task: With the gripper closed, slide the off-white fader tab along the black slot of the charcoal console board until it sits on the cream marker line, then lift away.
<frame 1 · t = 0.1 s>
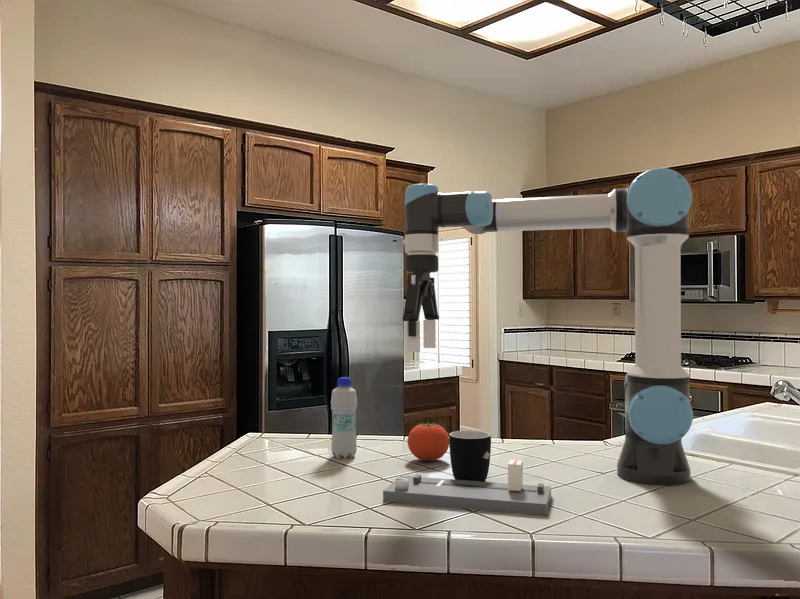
hand: (421, 350, 148), 28 cm above the counter, fingers open, 13 cm apart
mug: (471, 480, 144), on the counter
bottle: (344, 457, 166), on the counter
fader tab: (515, 474, 129), point 5 cm above the counter, slide at 0.0 cm
tomato: (428, 461, 162), on the counter
console: (467, 499, 130), on the counter
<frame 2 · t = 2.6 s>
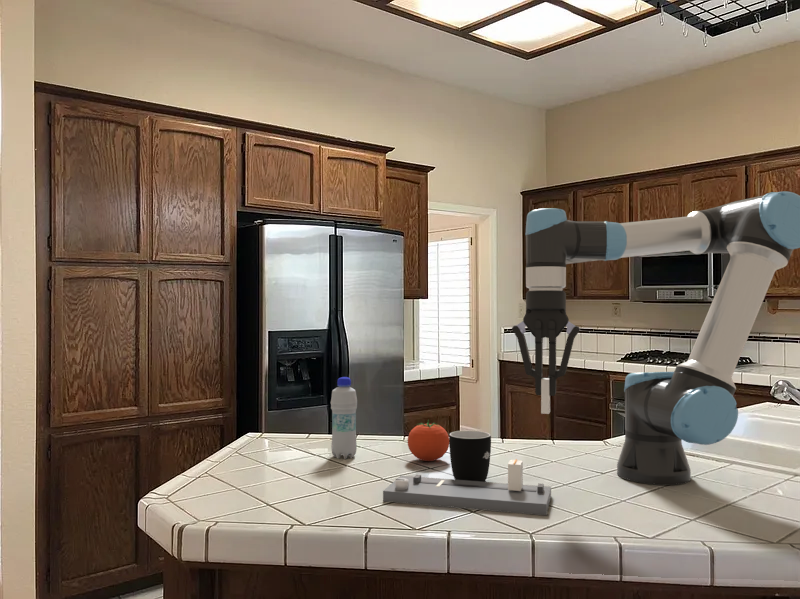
hand: (545, 412, 128), 17 cm above the counter, fingers closed
nothing on the counter moved.
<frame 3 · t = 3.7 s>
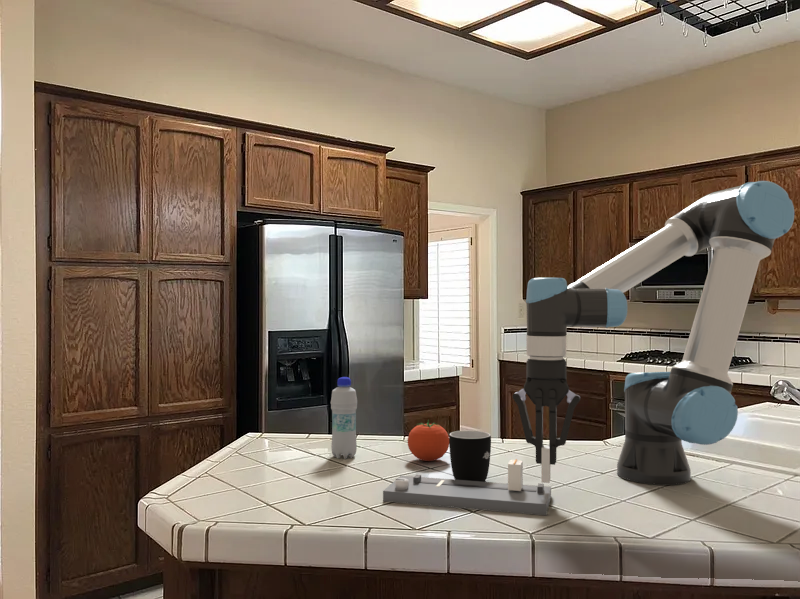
hand: (546, 480, 127), 4 cm above the counter, fingers closed
nothing on the counter moved.
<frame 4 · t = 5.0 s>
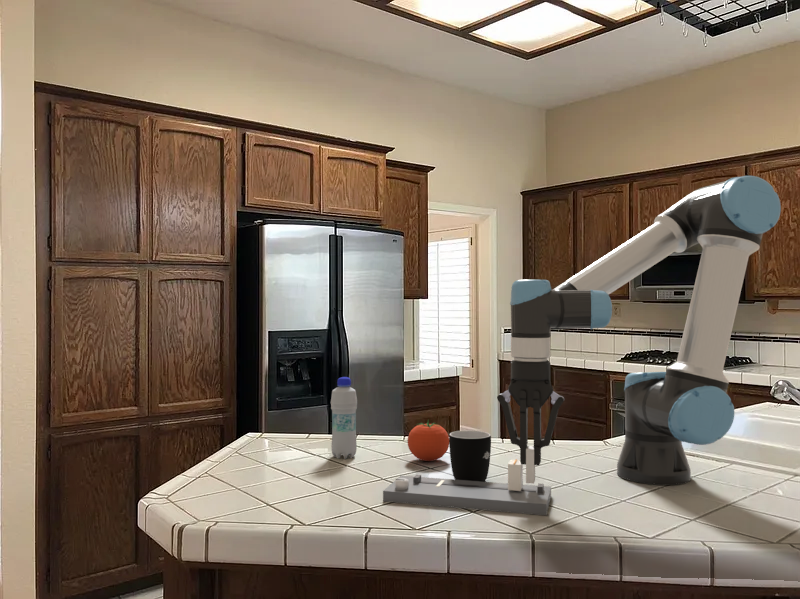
hand: (530, 481, 128), 4 cm above the counter, fingers closed
fader tab: (515, 474, 129), point 5 cm above the counter, slide at 0.0 cm, touching gripper
everything else where it was.
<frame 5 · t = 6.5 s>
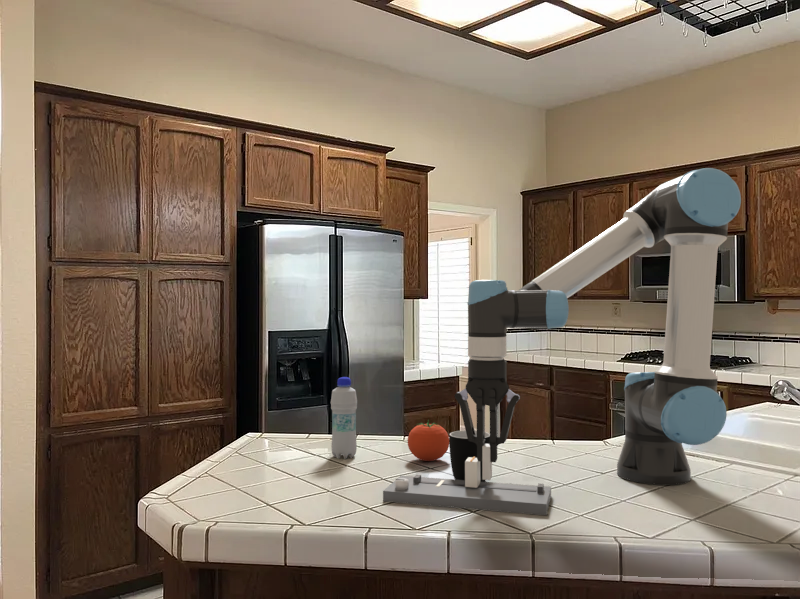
hand: (487, 478, 131), 4 cm above the counter, fingers closed
fader tab: (472, 471, 132), point 5 cm above the counter, slide at 8.4 cm, touching gripper
everything else where it was.
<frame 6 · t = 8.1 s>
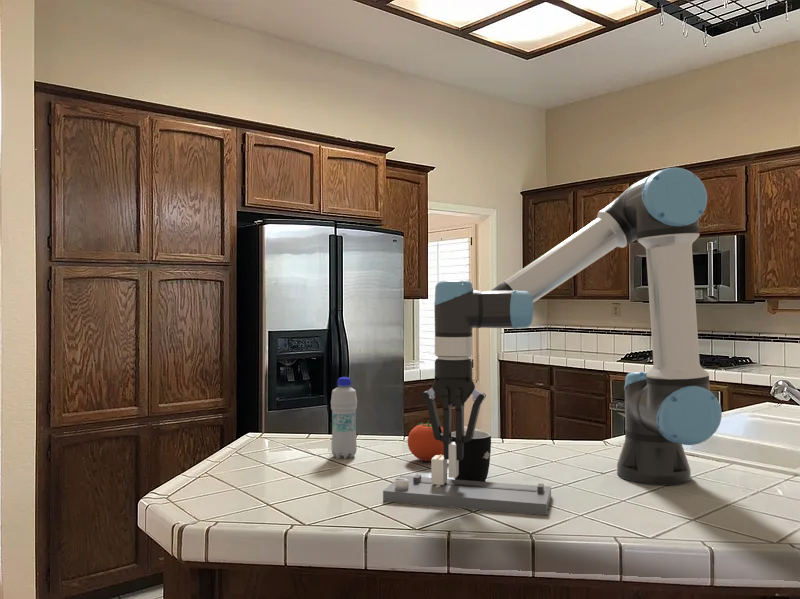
hand: (453, 475, 133), 4 cm above the counter, fingers closed
fader tab: (439, 469, 134), point 5 cm above the counter, slide at 15.2 cm, touching gripper
everything else where it was.
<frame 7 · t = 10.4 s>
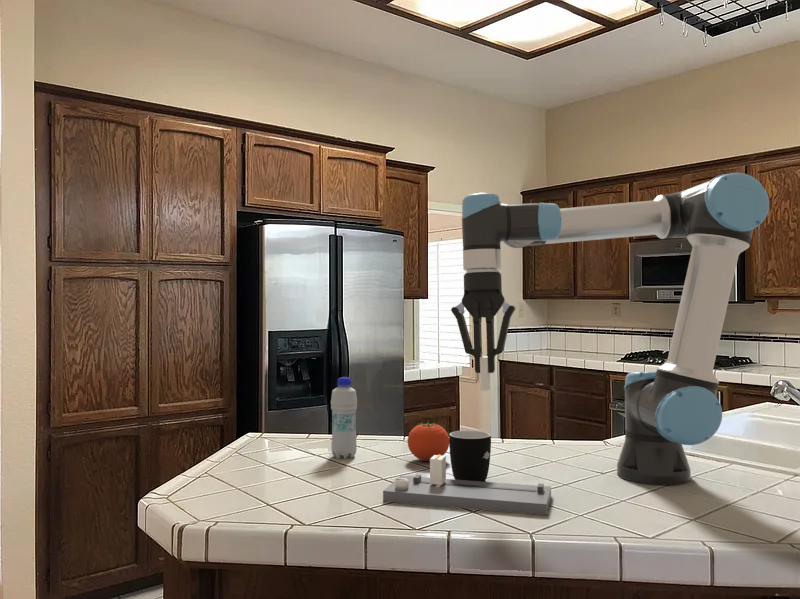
hand: (485, 389, 133), 21 cm above the counter, fingers closed
fader tab: (438, 469, 134), point 5 cm above the counter, slide at 15.5 cm
everything else where it was.
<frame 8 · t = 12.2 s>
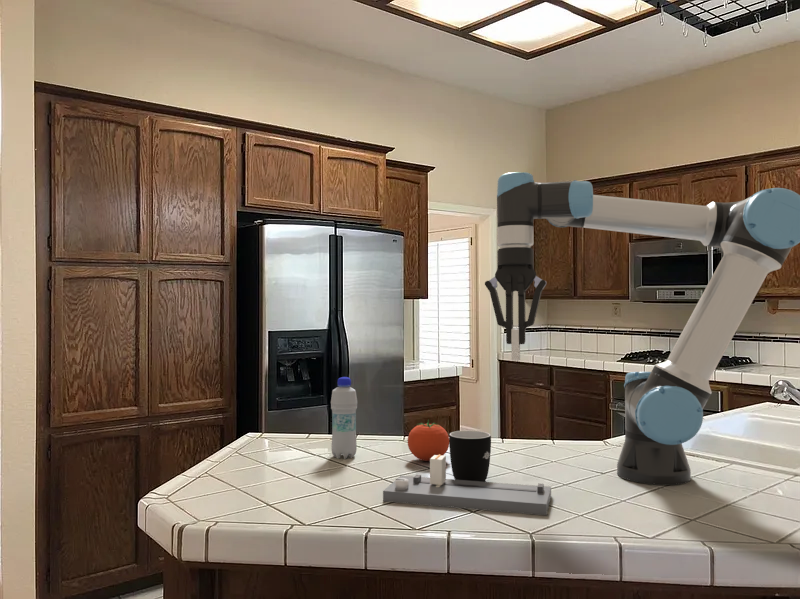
hand: (515, 359, 139), 26 cm above the counter, fingers closed
nothing on the counter moved.
at the end: fader tab slide at 15.5 cm; the gripper is holding nothing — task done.
